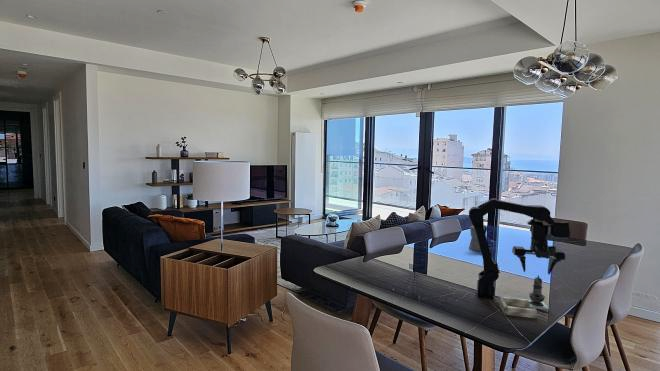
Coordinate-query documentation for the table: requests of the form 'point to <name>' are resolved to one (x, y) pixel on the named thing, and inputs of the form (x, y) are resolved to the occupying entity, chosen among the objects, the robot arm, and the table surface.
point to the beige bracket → (516, 310)
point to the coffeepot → (475, 239)
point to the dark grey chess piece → (537, 293)
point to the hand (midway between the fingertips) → (536, 273)
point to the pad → (539, 306)
